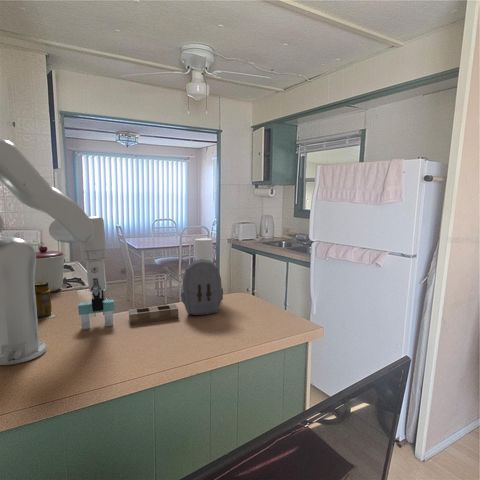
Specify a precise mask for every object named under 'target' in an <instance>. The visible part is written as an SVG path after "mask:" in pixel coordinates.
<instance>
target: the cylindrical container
mask: <svg viewBox="0 0 480 480" xmlns="http://www.w3.org/2000/svg"><path fill="white" fill-rule="evenodd" d="M213 248H214V246H213V238H211V237H208V238H206V237H201V238H195V239H194V255H195V257H194V259H195V260H194V261H196V260H200V259H204V260H210V261H211V262H213V263H214V255H213V253H214V250H213Z"/></svg>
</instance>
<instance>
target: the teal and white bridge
mask: <svg viewBox="0 0 480 480" xmlns="http://www.w3.org/2000/svg"><path fill="white" fill-rule="evenodd" d="M114 305H115V304H114V298H113V299H107V300H106V299H104V301H103V308H104V309H103V310H102V311H95V312H93V310H92V301H87V302H79V303H78V306H77V307H78V315H79V316H80V326H81V330H87V329H88V330H89V329H91V326H92V325H91V314H99V313H103V314H104V327H112V326H114V315H113V314H114V313H113V312H114V311H115V306H114Z"/></svg>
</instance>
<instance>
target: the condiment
mask: <svg viewBox="0 0 480 480" xmlns="http://www.w3.org/2000/svg"><path fill="white" fill-rule="evenodd" d="M48 285H49V284H48V283H47V282H38V283H35V296H36V308H37V320H38V321H40V320H41V321H43V320H48V319H51V318H56V317H57V316H56V315H55V313H53V312H52V311H53V310H52V298H51V292H50V290H49V286H48ZM52 313H53V314H52Z"/></svg>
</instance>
